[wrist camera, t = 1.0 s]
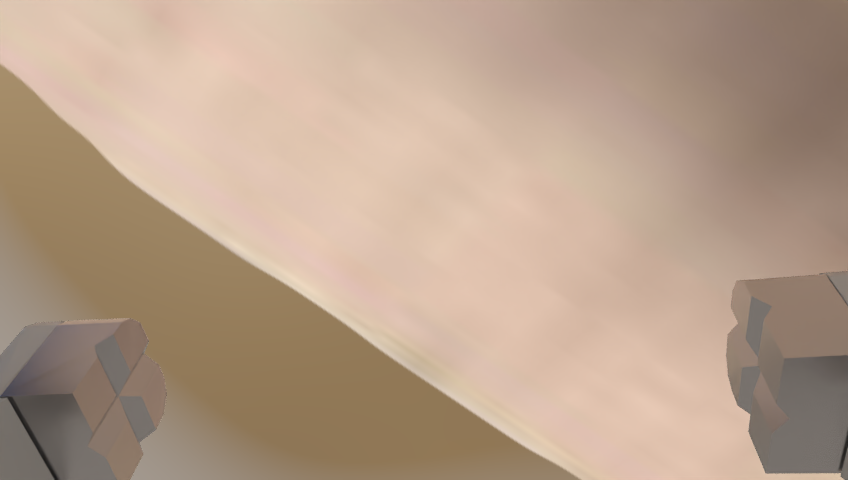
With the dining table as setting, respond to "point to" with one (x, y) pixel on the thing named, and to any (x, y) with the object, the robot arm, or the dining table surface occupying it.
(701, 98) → the dining table surface
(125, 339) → the robot arm
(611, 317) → the dining table surface
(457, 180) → the dining table surface
